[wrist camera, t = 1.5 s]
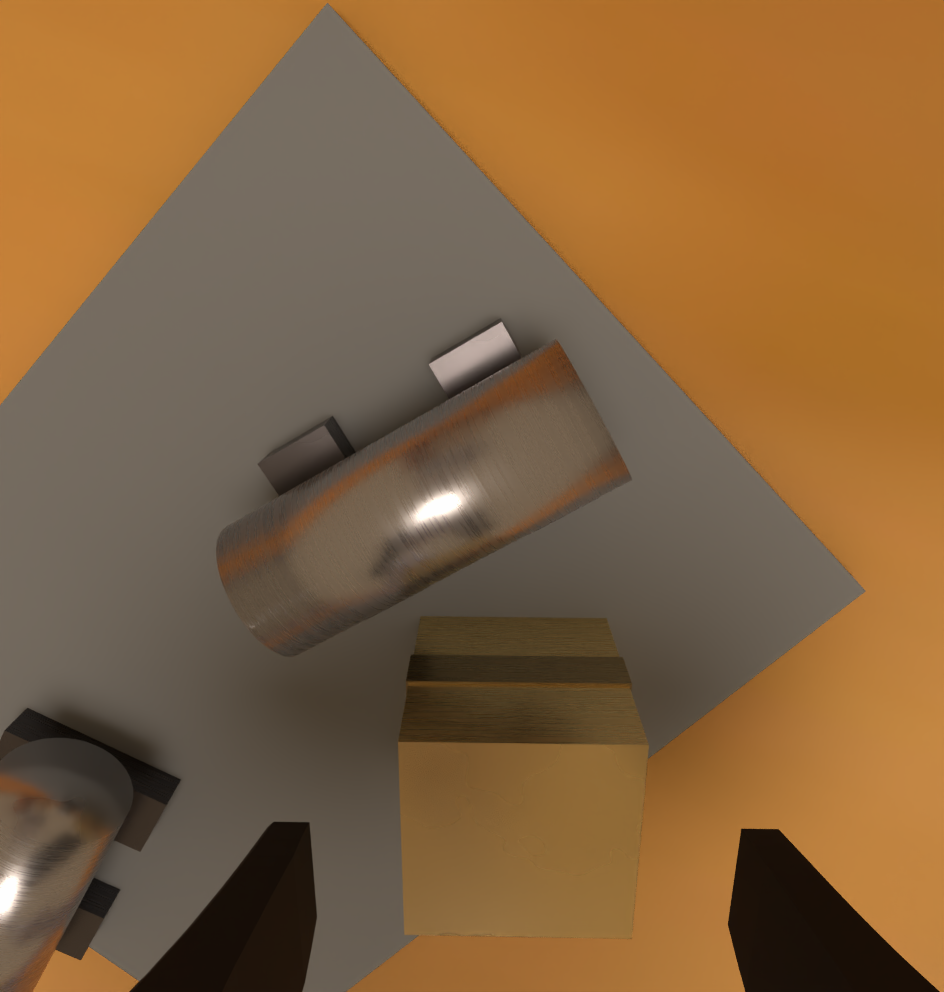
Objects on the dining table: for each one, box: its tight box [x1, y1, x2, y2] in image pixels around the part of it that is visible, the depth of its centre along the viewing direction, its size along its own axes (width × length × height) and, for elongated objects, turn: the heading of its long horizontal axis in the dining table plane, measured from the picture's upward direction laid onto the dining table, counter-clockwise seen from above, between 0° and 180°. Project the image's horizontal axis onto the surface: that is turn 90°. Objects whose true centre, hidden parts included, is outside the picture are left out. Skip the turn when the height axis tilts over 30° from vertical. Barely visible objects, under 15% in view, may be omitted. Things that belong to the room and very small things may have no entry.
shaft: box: [216, 318, 632, 657], centre depth 14 cm, size 7×4×4 cm, turn 120°
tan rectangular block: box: [398, 616, 649, 939], centre depth 15 cm, size 4×4×5 cm
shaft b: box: [0, 708, 181, 992], centre depth 17 cm, size 7×4×4 cm, turn 150°
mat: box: [0, 3, 865, 992], centre depth 18 cm, size 16×21×1 cm
